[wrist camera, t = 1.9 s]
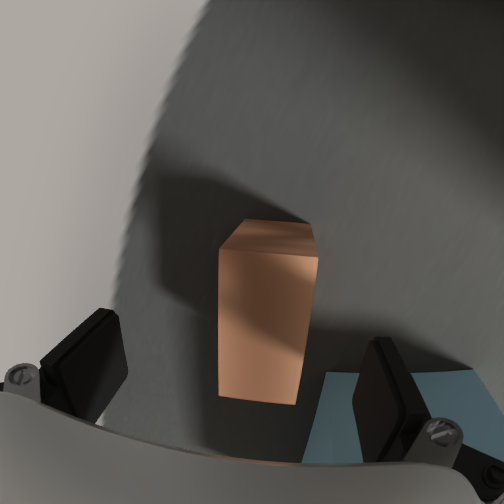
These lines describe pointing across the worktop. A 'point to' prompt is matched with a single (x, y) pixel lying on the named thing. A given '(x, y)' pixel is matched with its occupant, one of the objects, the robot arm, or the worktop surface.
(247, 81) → the worktop surface
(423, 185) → the worktop surface
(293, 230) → the brown wooden block
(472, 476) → the robot arm
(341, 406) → the box
